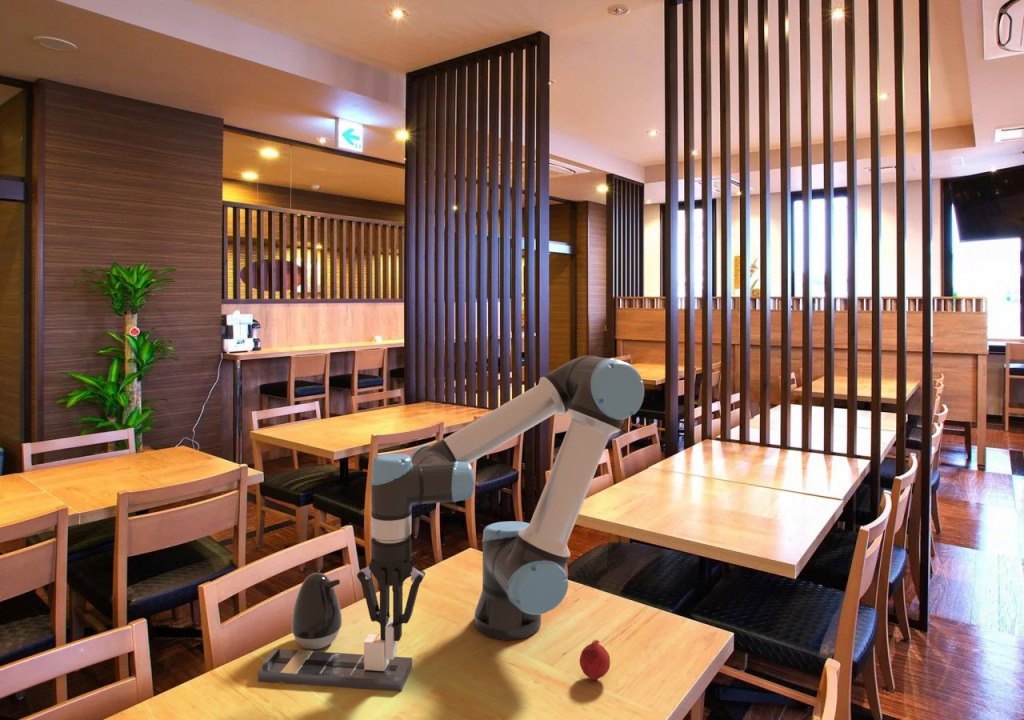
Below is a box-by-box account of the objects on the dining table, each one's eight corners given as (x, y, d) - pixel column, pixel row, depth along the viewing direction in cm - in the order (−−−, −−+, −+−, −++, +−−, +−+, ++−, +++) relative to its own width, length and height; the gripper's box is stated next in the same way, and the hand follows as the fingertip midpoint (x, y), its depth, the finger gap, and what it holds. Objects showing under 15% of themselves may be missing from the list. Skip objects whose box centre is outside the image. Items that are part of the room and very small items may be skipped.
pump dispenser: (328, 658, 130) (327, 586, 128) (282, 652, 132) (280, 581, 130) (351, 633, 140) (350, 566, 138) (307, 628, 142) (306, 562, 140)
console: (412, 667, 127) (412, 653, 127) (401, 691, 119) (401, 675, 119) (277, 658, 129) (277, 644, 129) (258, 681, 122) (257, 666, 121)
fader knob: (389, 662, 125) (388, 634, 124) (384, 671, 122) (384, 642, 121) (369, 661, 125) (369, 633, 124) (364, 669, 122) (363, 641, 121)
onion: (601, 692, 119) (602, 651, 119) (574, 682, 122) (575, 642, 122) (614, 677, 124) (615, 637, 124) (587, 668, 127) (588, 629, 127)
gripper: (429, 531, 124) (428, 647, 126) (364, 528, 125) (364, 643, 127) (420, 545, 117) (419, 668, 118) (351, 541, 118) (351, 664, 120)
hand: (391, 655), depth 123 cm, fingers closed
